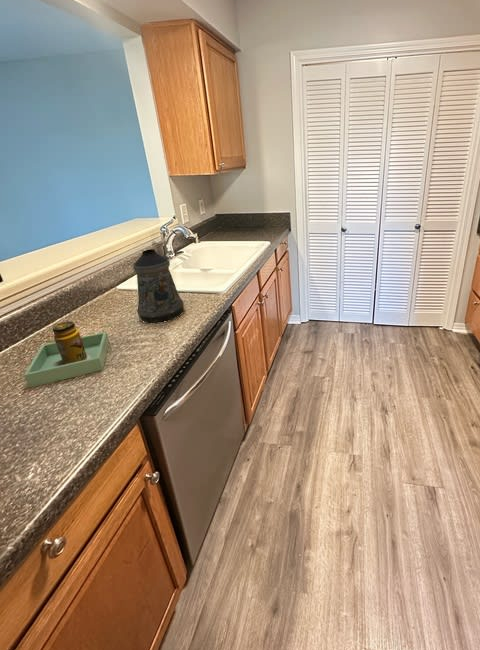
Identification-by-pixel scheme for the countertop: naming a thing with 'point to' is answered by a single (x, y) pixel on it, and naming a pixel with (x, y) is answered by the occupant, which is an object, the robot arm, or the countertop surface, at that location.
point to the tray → (49, 353)
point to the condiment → (69, 344)
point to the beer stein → (156, 289)
